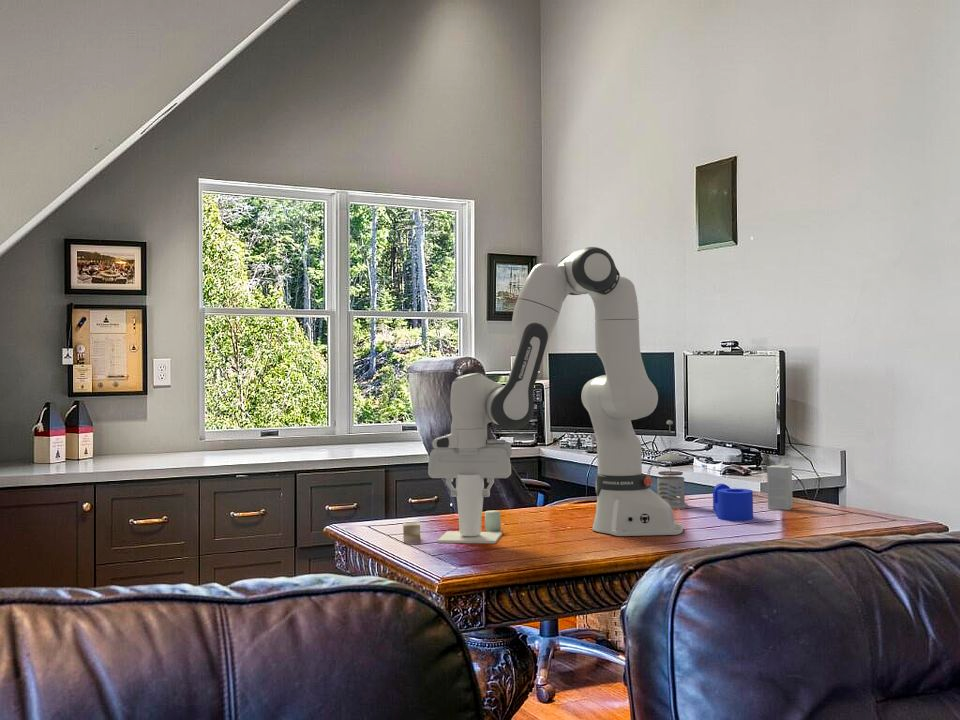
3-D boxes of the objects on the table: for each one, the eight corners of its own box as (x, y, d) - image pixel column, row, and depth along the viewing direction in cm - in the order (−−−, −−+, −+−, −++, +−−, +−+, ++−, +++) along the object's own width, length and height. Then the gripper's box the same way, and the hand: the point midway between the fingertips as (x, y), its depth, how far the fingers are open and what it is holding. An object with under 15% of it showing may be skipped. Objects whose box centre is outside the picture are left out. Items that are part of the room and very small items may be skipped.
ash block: (419, 538, 235) (419, 522, 235) (420, 541, 231) (420, 525, 231) (403, 539, 234) (403, 522, 234) (403, 542, 230) (403, 525, 230)
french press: (684, 509, 272) (682, 421, 272) (644, 507, 277) (642, 421, 277) (691, 504, 281) (690, 419, 281) (653, 502, 286) (651, 418, 286)
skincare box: (793, 508, 270) (792, 466, 270) (789, 510, 267) (788, 467, 267) (771, 506, 274) (770, 465, 274) (767, 508, 270) (766, 466, 270)
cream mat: (502, 534, 238) (502, 531, 238) (495, 543, 226) (495, 540, 226) (447, 533, 240) (447, 531, 240) (437, 542, 228) (437, 540, 228)
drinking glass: (481, 537, 229) (480, 475, 229) (453, 537, 230) (453, 474, 230) (486, 532, 236) (486, 472, 236) (459, 532, 237) (459, 471, 237)
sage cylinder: (501, 530, 244) (501, 510, 244) (499, 532, 240) (499, 513, 240) (486, 529, 245) (486, 510, 245) (483, 532, 241) (483, 512, 241)
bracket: (757, 521, 251) (756, 492, 251) (722, 522, 251) (722, 493, 251) (737, 510, 270) (737, 483, 270) (705, 510, 270) (705, 483, 270)
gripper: (513, 438, 235) (514, 494, 235) (431, 439, 238) (432, 494, 238) (509, 440, 228) (510, 498, 228) (426, 441, 232) (427, 498, 232)
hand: (470, 496), depth 233 cm, fingers closed on drinking glass, 7 cm apart
